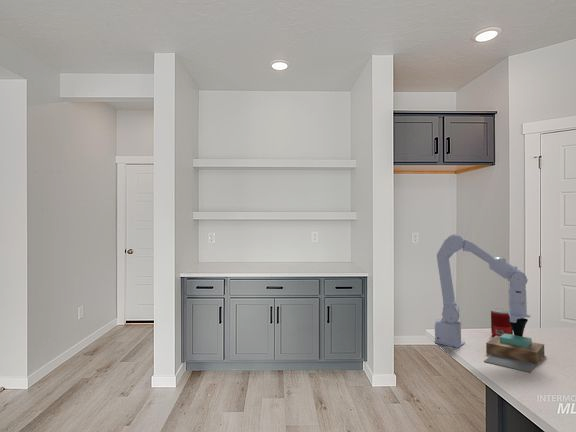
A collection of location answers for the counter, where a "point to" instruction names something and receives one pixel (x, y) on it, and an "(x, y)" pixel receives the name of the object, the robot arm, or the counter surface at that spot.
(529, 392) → the counter surface
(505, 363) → the mat
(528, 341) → the teal rectangular block
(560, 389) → the counter surface
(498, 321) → the canned food
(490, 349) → the board
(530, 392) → the counter surface
